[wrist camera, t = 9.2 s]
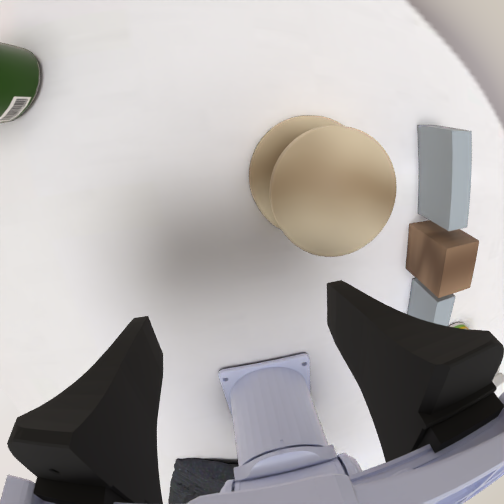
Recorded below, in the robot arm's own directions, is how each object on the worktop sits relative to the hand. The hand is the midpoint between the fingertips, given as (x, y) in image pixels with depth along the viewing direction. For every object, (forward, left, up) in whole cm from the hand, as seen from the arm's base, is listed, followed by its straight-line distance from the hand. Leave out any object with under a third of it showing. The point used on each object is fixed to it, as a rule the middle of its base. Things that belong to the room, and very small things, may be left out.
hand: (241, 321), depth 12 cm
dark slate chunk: (-39, +9, -11) cm, 42 cm away
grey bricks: (-4, -16, -10) cm, 19 cm away
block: (-4, -16, -10) cm, 19 cm away
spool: (+3, -6, -10) cm, 12 cm away
